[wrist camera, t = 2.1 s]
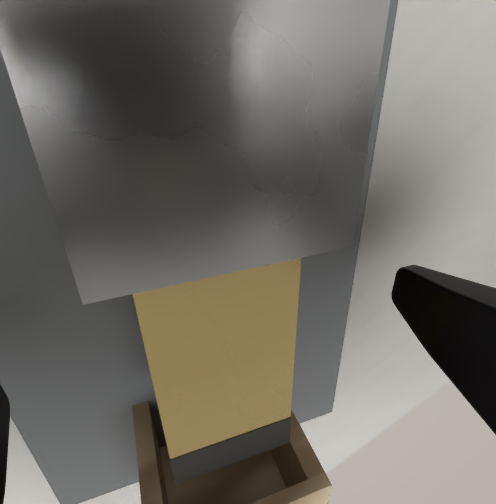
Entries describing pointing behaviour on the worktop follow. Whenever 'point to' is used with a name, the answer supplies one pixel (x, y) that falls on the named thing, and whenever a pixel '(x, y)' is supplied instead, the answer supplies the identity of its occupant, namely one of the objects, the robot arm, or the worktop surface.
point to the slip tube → (222, 364)
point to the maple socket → (232, 473)
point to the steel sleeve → (195, 130)
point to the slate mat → (120, 329)
